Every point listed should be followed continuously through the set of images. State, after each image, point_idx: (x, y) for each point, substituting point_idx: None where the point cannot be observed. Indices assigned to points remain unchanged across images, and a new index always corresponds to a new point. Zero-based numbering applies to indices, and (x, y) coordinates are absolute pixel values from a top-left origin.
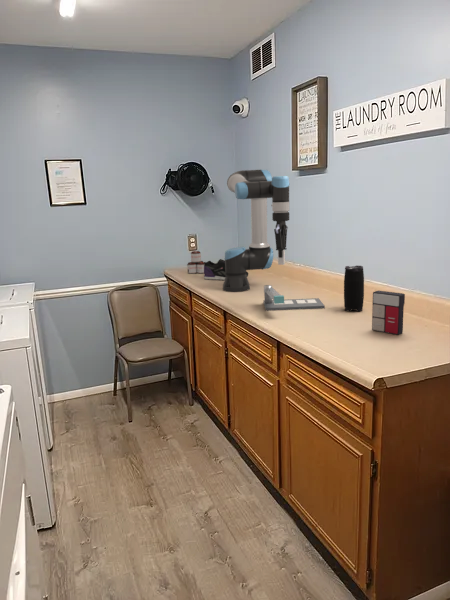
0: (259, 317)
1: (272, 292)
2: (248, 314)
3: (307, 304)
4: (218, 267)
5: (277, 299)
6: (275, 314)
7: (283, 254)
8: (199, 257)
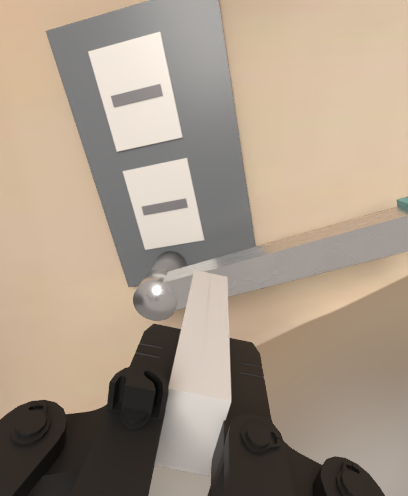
0: (362, 275)
1: (310, 268)
2: (312, 314)
3: (190, 86)
4: None
5: None
6: (321, 221)
7: (229, 350)
8: None
